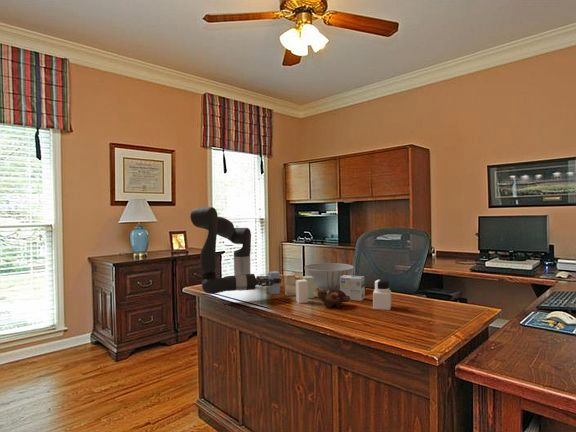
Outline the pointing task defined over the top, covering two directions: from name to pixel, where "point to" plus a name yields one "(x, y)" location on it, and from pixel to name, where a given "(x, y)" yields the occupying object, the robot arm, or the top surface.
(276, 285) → the slate-blue pillar
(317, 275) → the decorative bowl
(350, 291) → the light bulb box
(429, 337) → the top surface
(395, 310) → the top surface
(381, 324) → the top surface
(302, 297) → the ivory pillar
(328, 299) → the decorative turtle
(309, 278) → the sage pillar
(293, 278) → the maple pillar
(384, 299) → the medicine bottle
